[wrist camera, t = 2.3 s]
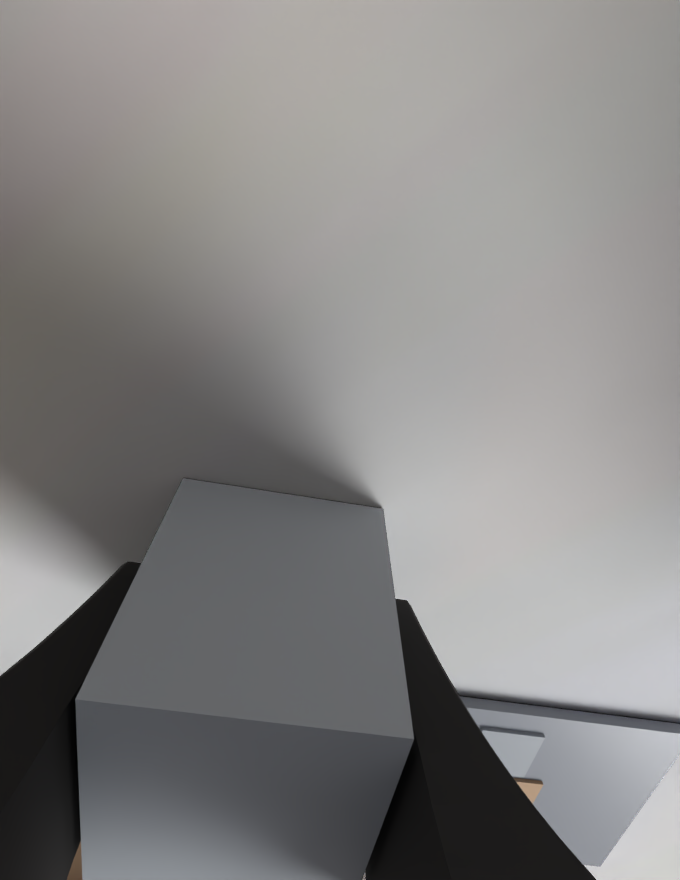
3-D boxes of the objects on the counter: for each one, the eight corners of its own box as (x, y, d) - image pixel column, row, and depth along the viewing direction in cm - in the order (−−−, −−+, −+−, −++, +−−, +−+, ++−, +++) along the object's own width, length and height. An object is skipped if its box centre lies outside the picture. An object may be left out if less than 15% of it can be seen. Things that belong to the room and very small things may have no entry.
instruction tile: (686, 724, 14) (697, 742, 14) (595, 855, 17) (603, 873, 16) (378, 685, 13) (380, 704, 13) (335, 828, 16) (334, 847, 16)
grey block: (383, 509, 11) (413, 739, 7) (346, 650, 13) (351, 908, 8) (183, 477, 11) (75, 698, 6) (172, 628, 13) (83, 883, 8)
